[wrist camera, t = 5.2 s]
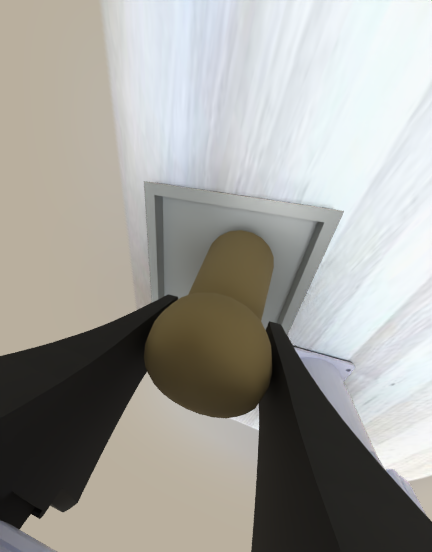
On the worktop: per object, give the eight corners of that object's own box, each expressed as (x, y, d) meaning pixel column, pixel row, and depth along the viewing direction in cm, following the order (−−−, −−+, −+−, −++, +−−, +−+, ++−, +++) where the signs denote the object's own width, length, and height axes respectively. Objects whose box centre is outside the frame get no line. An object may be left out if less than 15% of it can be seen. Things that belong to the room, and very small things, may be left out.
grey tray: (275, 343, 22) (277, 356, 20) (160, 311, 25) (152, 320, 23) (333, 209, 14) (344, 211, 13) (156, 182, 17) (143, 181, 15)
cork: (279, 287, 15) (301, 457, 6) (218, 295, 17) (161, 426, 8) (266, 220, 13) (268, 324, 3) (197, 240, 15) (82, 333, 6)
